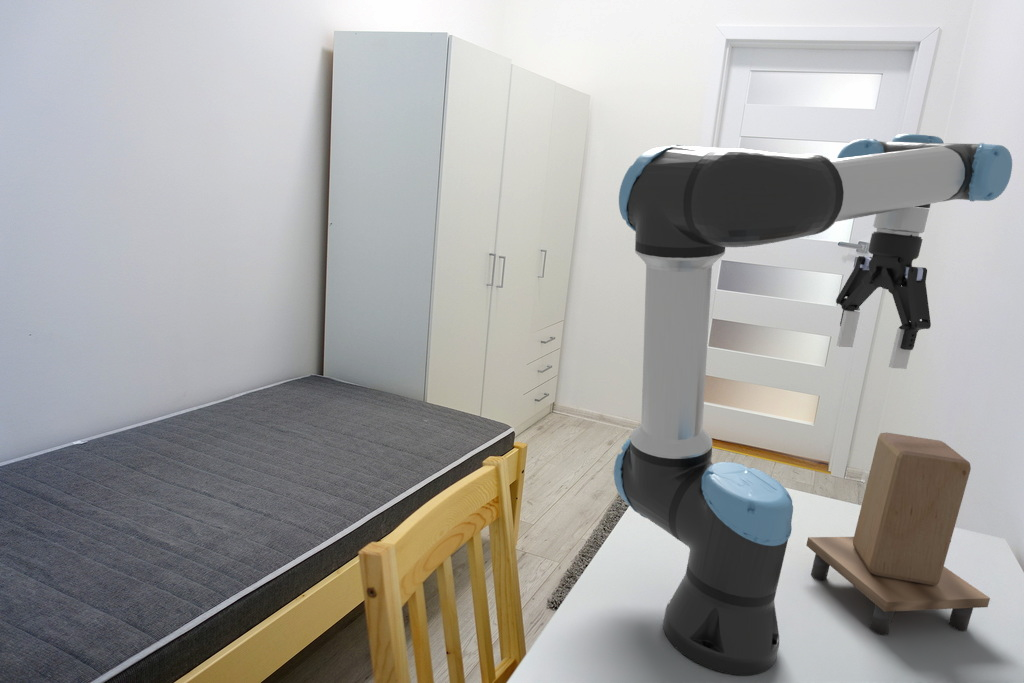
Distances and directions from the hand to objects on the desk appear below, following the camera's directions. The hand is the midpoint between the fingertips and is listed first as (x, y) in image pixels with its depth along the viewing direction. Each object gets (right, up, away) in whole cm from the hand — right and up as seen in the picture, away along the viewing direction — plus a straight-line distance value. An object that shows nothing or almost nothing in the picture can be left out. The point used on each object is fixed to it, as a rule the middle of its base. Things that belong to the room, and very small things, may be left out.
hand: (869, 356), depth 122 cm
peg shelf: (-3, -38, -10) cm, 40 cm away
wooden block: (-2, -32, -12) cm, 35 cm away
